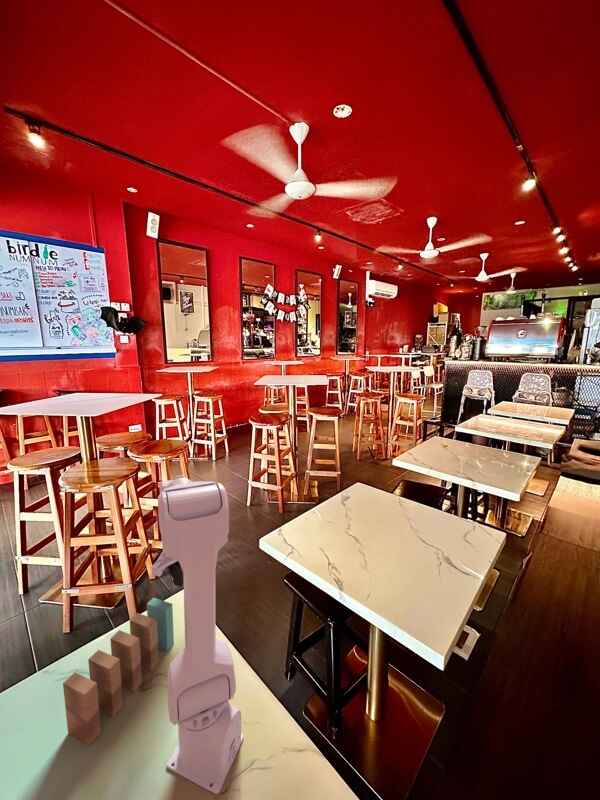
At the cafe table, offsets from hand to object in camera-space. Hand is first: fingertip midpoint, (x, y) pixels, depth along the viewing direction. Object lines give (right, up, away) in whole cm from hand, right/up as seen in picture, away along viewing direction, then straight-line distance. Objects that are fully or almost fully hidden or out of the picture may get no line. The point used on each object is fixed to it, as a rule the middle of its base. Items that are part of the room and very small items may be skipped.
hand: (179, 583), depth 77 cm
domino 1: (-8, -13, -21) cm, 26 cm away
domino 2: (-7, -13, -17) cm, 22 cm away
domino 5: (-2, -11, -4) cm, 12 cm away
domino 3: (-5, -12, -13) cm, 18 cm away
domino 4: (-4, -11, -9) cm, 15 cm away
